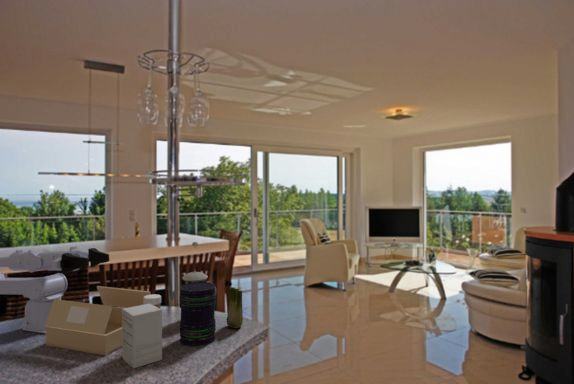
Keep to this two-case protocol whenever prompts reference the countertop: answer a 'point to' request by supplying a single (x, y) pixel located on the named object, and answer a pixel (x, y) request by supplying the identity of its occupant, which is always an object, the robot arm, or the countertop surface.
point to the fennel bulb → (235, 308)
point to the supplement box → (141, 335)
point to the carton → (89, 337)
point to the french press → (195, 275)
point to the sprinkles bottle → (152, 300)
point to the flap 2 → (121, 296)
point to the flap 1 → (79, 316)
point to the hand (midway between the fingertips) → (98, 260)
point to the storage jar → (197, 314)
